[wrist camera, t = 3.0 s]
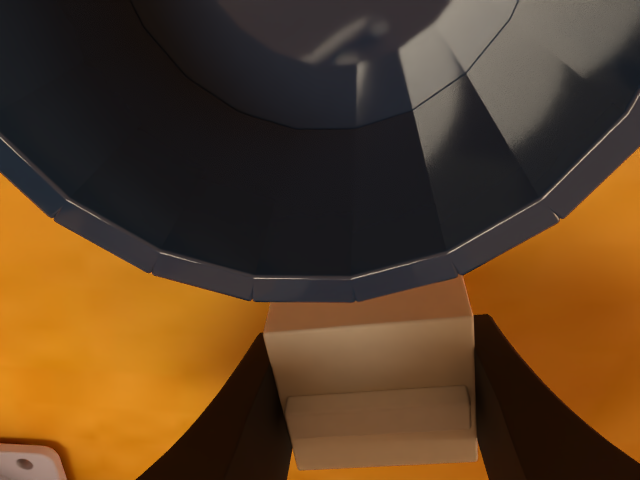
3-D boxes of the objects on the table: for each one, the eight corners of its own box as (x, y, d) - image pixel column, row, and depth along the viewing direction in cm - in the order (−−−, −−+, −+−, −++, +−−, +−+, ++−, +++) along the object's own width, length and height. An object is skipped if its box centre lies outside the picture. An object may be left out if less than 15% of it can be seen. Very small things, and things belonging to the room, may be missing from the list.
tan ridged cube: (307, 385, 17) (295, 492, 14) (279, 258, 15) (257, 353, 12) (460, 374, 16) (482, 484, 13) (453, 241, 14) (479, 336, 11)
